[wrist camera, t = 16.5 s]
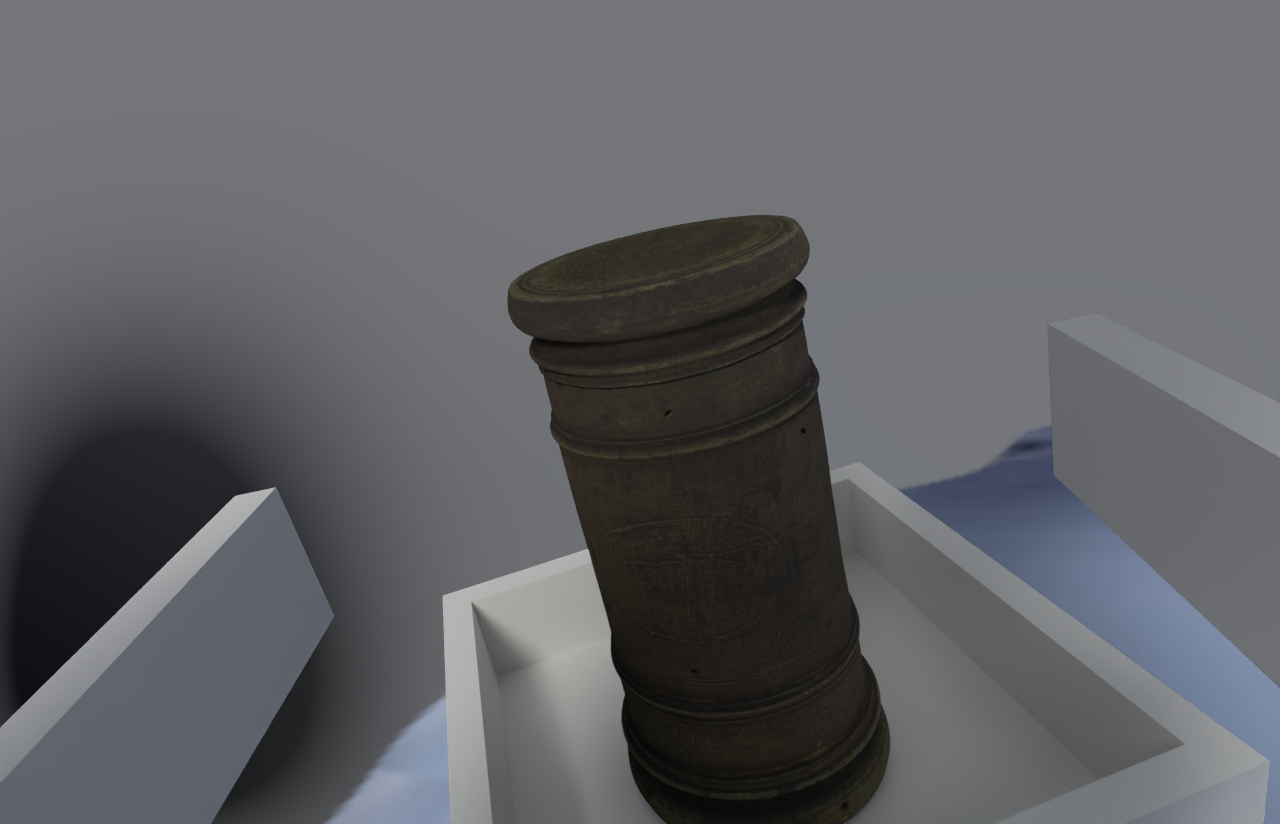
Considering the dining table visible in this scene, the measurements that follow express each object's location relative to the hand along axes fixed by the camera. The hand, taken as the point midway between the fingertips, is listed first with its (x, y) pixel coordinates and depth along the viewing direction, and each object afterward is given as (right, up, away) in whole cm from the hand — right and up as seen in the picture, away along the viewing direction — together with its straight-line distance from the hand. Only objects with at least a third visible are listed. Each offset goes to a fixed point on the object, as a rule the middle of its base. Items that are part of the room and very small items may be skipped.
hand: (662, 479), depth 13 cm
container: (+4, -11, +15) cm, 19 cm away
